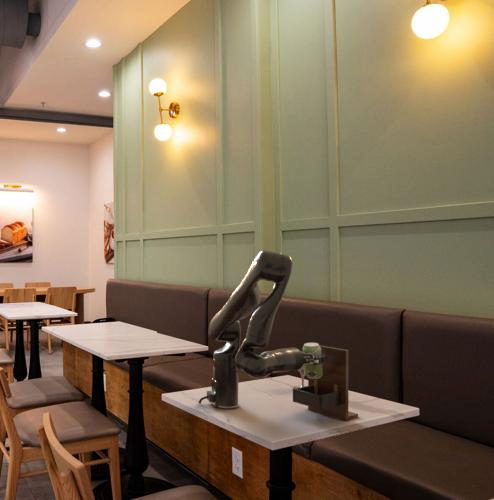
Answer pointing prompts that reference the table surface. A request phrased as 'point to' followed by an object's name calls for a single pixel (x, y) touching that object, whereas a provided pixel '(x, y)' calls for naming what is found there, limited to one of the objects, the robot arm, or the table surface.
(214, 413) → the table surface
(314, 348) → the beverage can
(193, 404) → the table surface
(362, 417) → the table surface
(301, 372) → the wine glass
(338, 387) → the wooden backboard stand
